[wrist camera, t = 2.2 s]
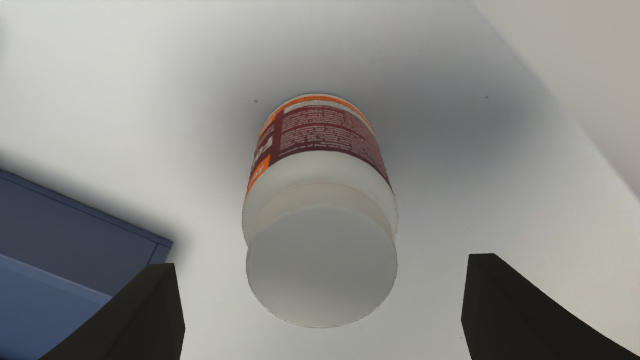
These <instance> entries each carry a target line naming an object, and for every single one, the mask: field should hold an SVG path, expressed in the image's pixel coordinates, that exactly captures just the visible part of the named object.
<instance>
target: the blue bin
mask: <svg viewBox="0 0 640 360" xmlns="http://www.w3.org/2000/svg"><path fill="white" fill-rule="evenodd" d="M172 244H173V242H171V241H169V240H166V239H164V238H162V237H159V236H157V235H154V234H152V233H150V232H147V231H145V230H143V229H140V228H138V227H136V226H133V225H131V224H128V223H126V222H124V221H121V220H119V219H117V218H114V217H112V216H109V215H107V214H105V213H102V212H100V211H98V210H95V209H93V208H91V207H88V206H86V205H83V204H81V203H79V202H76V201H74V200H72V199H69V198H67V197H64V196H62V195H60V194H57V193H55V192H53V191H50V190H48V189H46V188H43V187H41V186H38V185H36V184H34V183H31V182H29V181H27V180H24V179H22V178H19V177H17V176H15V175H12V174H10V173H8V172H5V171H3V170H1V169H0V360H38V359H39V358H41V357H42V356H43V355H45V354H46V353H47V352H49V351H50V350H51V349H53V348H54V347H55V346H57V345H58V344H59V343H60V342H62V341H63V340H64V339H65V338H67V337H68V336H69V335H70V334H71V333H73V332H74V331H75V330H76V329H77V328H79V327H80V326H81V325H82V324H83V323H85V322H86V321H87V320H88V319H89V318H91V317H92V316H93V315H94V314H95V313H96V312H97V311H98V310H100V309H101V308H102V307H103V306H104V305H105V304H106V303H107V302H108V301H109V300H111V299H112V298H113V297H114V296H115V295H116V294H117V293H118V292H119V291H120V290H121V289H122V288H123V287H125V286H126V285H127V284H128V283H129V282H130V281H131V280H132V279H133V278H134V277H135V276H136V275H137V274H138V273H139V272H140V271H141V270H143V269H144V268H145V267H146V266H147V265H148V264H158V263H165V261H166V259H167V256H168V254H169V252H170V249H171V247H172Z"/></svg>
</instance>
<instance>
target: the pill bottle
mask: <svg viewBox="0 0 640 360" xmlns="http://www.w3.org/2000/svg"><path fill="white" fill-rule="evenodd" d="M397 229H398V211H397V204H396V200H395V195H394V193H393V190H392V188H391V185H390V182H389V179H388V176H387V173H386V169H385V166H384V163H383V160H382V157H381V154H380V150H379V147H378V144H377V141H376V137H375V134H374V133H373V130H372V127H371V125H370V123H369V122H368V120H367V118H366V117H365V116H364V115H363V113H362V112H361V111H360V110H359V109H358V108H356V107H355V106H354V105H352V104H351V103H350V102H348V101H346V100H344V99H341V98H339V97H336V96H333V95H328V94H315V93H314V94H305V95H301V96H297V97H295V98H292V99H290V100H288V101H286V102H284V103H283V104H282V105H280V106H279V107H278V108H276V109H275V110H274V111H273V112H272V113H271V114H270V116H269V117H268V118H267V120H266V121H265V123H264V125H263V127H262V129H261V132H260V135H259V138H258V143H257V147H256V151H255V155H254V160H253V164H252V168H251V173H250V178H249V183H248V187H247V192H246V196H245V201H244V205H243V209H242V230H243V234H244V238H245V241H246V244H247V247H248V251H247V258H246V273H247V278H248V282H249V285H250V287H251V290H252V291H253V293H254V295H255V297H256V298H257V299H258V301H259V302H260V303H261V304H262V305H263V306H264V307H265V308H266V309H267V310H268V311H269V312H271V313H272V314H274V315H275V316H277V317H279V318H281V319H283V320H285V321H287V322H290V323H293V324H296V325H299V326H304V327H311V328H332V327H338V326H342V325H345V324H349V323H352V322H354V321H357V320H359V319H361V318H363V317H365V316H366V315H368V314H369V313H371V312H372V311H373V310H375V309H376V308H377V307H378V306H380V305H381V303H382V302H383V301H384V300H385V299H386V297H387V296H388V294H389V292H390V291H391V289H392V287H393V284H394V281H395V278H396V273H397V253H396V249H395V244H394V241H395V238H396V234H397Z"/></svg>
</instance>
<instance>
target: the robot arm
mask: <svg viewBox="0 0 640 360" xmlns="http://www.w3.org/2000/svg"><path fill="white" fill-rule="evenodd" d="M461 322H462V326H463V330H464V334H465V338H466V342H467V345H468V349H469V352H470V356H471V359H472V360H640V357H639V356H637V355H636V354H634V353H632V352H631V351H629V350H627V349H625V348H624V347H622V346H620V345H619V344H617V343H615V342H614V341H612V340H610V339H609V338H607V337H605V336H604V335H602V334H601V333H599V332H598V331H596V330H595V329H593V328H592V327H590V326H589V325H587V324H586V323H584V322H583V321H581V320H580V319H579V318H577V317H576V316H574V315H573V314H571V313H570V312H569V311H567V310H566V309H564V308H563V307H562V306H560V305H559V304H558V303H556V302H555V301H554V300H552V299H551V298H550V297H548V296H547V295H546V294H545V293H543V292H542V291H541V290H539V289H538V288H537V287H536V286H534V285H533V284H532V283H531V282H529V281H528V280H527V279H526V278H524V277H523V276H522V275H521V274H520V273H518V272H517V271H516V270H515V269H513V268H512V267H511V266H510V265H508V264H507V263H506V262H505V261H503V260H502V259H501V258H500V257H498V256H497V255H496V254H494V253H488V254H469V258H468V266H467V275H466V283H465V291H464V299H463V307H462V315H461ZM184 333H185V323H184V318H183V312H182V306H181V300H180V295H179V289H178V283H177V277H176V272H175V266H174V263H158V264H148V265H147V266H146V267H145V268H144V269H143V270H141V271H140V272H139V273H138V274H137V275H136V276H135V277H134V278H133V279H132V280H131V281H130V282H129V283H128V284H127V285H126V286H125V287H123V288H122V289H121V290H120V291H119V292H118V293H117V294H116V295H115V296H114V297H113V298H112V299H111V300H109V301H108V302H107V303H106V304H105V305H104V306H103V307H102V308H101V309H100V310H98V311H97V312H96V313H95V314H94V315H93V316H92V317H91V318H89V319H88V320H87V321H86V322H85V323H83V324H82V325H81V326H80V327H79V328H77V329H76V330H75V331H74V332H73V333H71V334H70V335H69V336H68V337H67V338H65V339H64V340H63V341H62V342H60V343H59V344H58V345H57V346H55V347H54V348H53V349H51V350H50V351H49V352H47V353H46V354H45V355H43V356H42V357H41V358H39V359H38V360H180V355H181V350H182V344H183V339H184Z"/></svg>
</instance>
